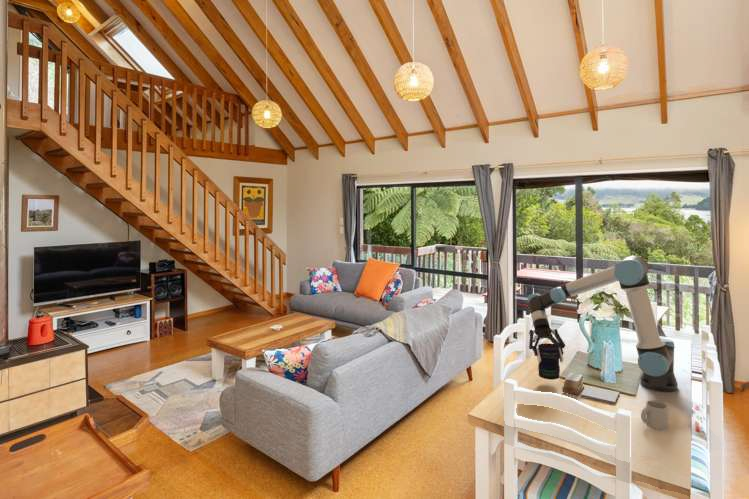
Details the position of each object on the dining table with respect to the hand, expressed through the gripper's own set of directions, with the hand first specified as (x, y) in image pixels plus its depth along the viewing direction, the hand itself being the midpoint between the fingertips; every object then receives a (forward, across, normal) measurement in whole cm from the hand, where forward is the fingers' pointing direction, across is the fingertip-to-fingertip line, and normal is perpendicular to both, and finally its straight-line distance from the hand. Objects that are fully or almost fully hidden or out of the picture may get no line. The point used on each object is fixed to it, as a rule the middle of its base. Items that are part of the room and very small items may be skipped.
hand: (550, 361), depth 209 cm
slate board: (+16, -19, -2) cm, 25 cm away
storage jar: (+4, 0, -8) cm, 9 cm away
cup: (+36, -27, +17) cm, 48 cm away
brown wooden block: (+12, -9, -7) cm, 16 cm away
